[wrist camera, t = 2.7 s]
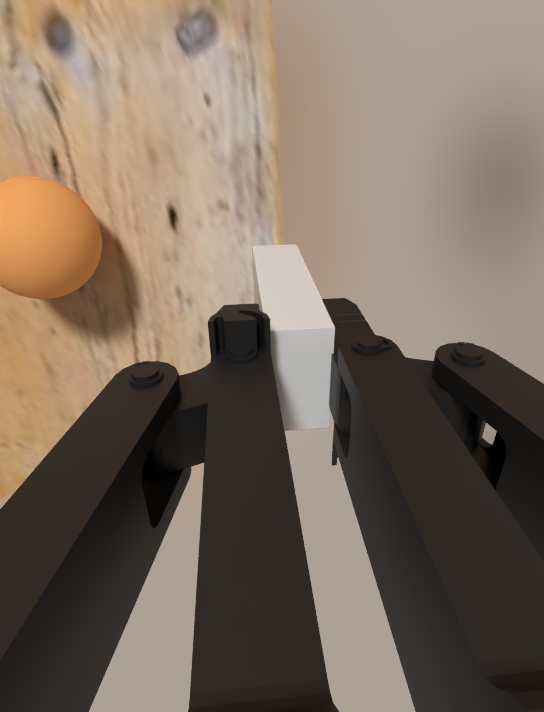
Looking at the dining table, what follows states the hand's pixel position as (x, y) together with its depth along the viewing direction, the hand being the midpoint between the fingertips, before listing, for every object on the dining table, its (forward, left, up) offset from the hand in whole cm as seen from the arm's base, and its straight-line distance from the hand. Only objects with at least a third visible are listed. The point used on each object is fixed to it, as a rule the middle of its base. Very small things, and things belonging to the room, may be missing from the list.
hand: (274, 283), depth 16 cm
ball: (-10, 0, -7) cm, 12 cm away
